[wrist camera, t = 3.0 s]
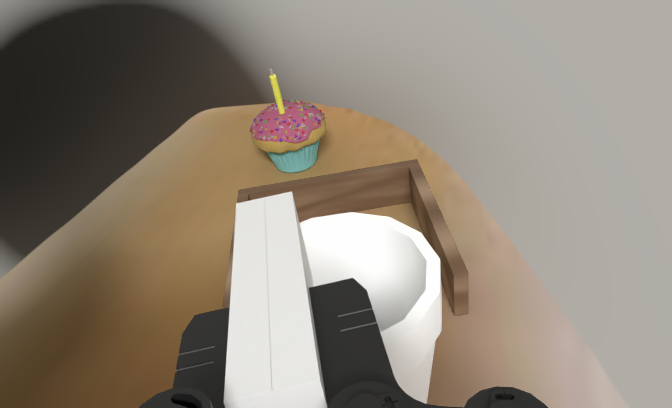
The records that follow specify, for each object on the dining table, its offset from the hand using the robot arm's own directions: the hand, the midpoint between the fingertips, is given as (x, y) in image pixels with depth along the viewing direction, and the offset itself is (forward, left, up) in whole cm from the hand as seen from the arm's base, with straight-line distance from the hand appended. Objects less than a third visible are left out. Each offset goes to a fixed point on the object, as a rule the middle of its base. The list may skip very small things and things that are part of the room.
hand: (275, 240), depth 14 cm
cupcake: (-20, +36, -20) cm, 46 cm away
